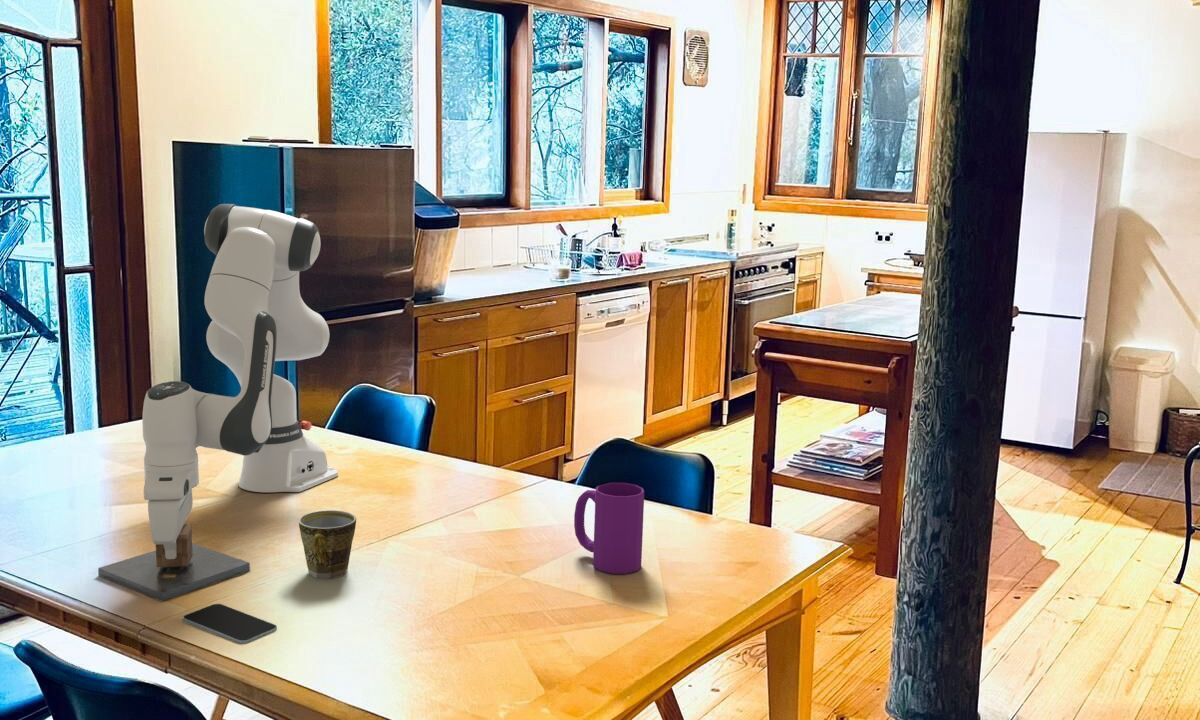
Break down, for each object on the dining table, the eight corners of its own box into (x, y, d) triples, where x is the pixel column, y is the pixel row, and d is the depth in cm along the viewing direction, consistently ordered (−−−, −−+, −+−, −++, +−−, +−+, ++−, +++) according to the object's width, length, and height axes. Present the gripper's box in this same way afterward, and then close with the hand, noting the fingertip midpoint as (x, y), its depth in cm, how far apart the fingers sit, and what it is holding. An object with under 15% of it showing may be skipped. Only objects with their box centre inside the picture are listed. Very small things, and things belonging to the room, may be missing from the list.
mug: (618, 579, 207) (621, 500, 204) (557, 557, 217) (559, 480, 215) (651, 567, 214) (655, 489, 211) (590, 545, 224) (593, 471, 221)
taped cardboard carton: (192, 555, 206) (191, 523, 205) (187, 566, 201) (186, 532, 200) (162, 556, 205) (160, 524, 204) (156, 567, 200) (155, 533, 199)
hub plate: (186, 548, 215) (185, 520, 214) (249, 570, 205) (249, 541, 204) (98, 576, 201) (97, 546, 200) (162, 601, 191) (160, 570, 190)
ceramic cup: (308, 561, 211) (307, 509, 209) (362, 563, 211) (362, 511, 209) (287, 587, 198) (286, 532, 196) (344, 590, 198) (344, 535, 196)
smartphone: (242, 642, 176) (179, 617, 184) (242, 647, 176) (179, 622, 184) (280, 626, 182) (217, 602, 190) (280, 631, 182) (217, 607, 190)
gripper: (163, 459, 209) (166, 532, 212) (141, 493, 189) (144, 572, 192) (199, 459, 210) (202, 530, 213) (181, 492, 191) (184, 571, 193)
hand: (174, 551), depth 202 cm, fingers closed on taped cardboard carton, 5 cm apart
